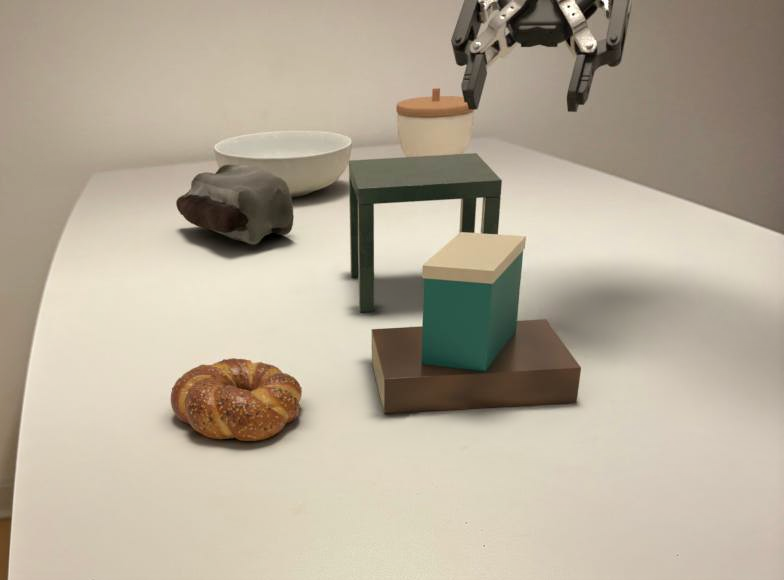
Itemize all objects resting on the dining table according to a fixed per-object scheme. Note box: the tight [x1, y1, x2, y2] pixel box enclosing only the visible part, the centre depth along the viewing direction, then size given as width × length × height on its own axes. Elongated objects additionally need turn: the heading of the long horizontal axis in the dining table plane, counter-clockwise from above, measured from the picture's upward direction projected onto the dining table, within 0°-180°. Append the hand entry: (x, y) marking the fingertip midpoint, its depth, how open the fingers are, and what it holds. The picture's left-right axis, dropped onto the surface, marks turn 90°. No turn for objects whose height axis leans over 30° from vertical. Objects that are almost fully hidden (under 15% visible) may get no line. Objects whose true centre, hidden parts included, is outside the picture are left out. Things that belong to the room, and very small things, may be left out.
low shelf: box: [371, 318, 582, 414], centre depth 82 cm, size 16×12×3 cm
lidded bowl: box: [395, 87, 475, 157], centre depth 154 cm, size 13×13×11 cm
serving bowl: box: [213, 130, 353, 198], centre depth 144 cm, size 21×21×7 cm
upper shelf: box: [348, 152, 503, 313], centre depth 101 cm, size 14×14×12 cm
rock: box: [175, 165, 295, 246], centre depth 124 cm, size 18×11×8 cm, turn 31°
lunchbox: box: [421, 232, 527, 371], centre depth 79 cm, size 10×6×8 cm, turn 156°
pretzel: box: [170, 357, 303, 442], centre depth 78 cm, size 12×11×4 cm
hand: (520, 104), depth 79 cm, fingers open, 8 cm apart
